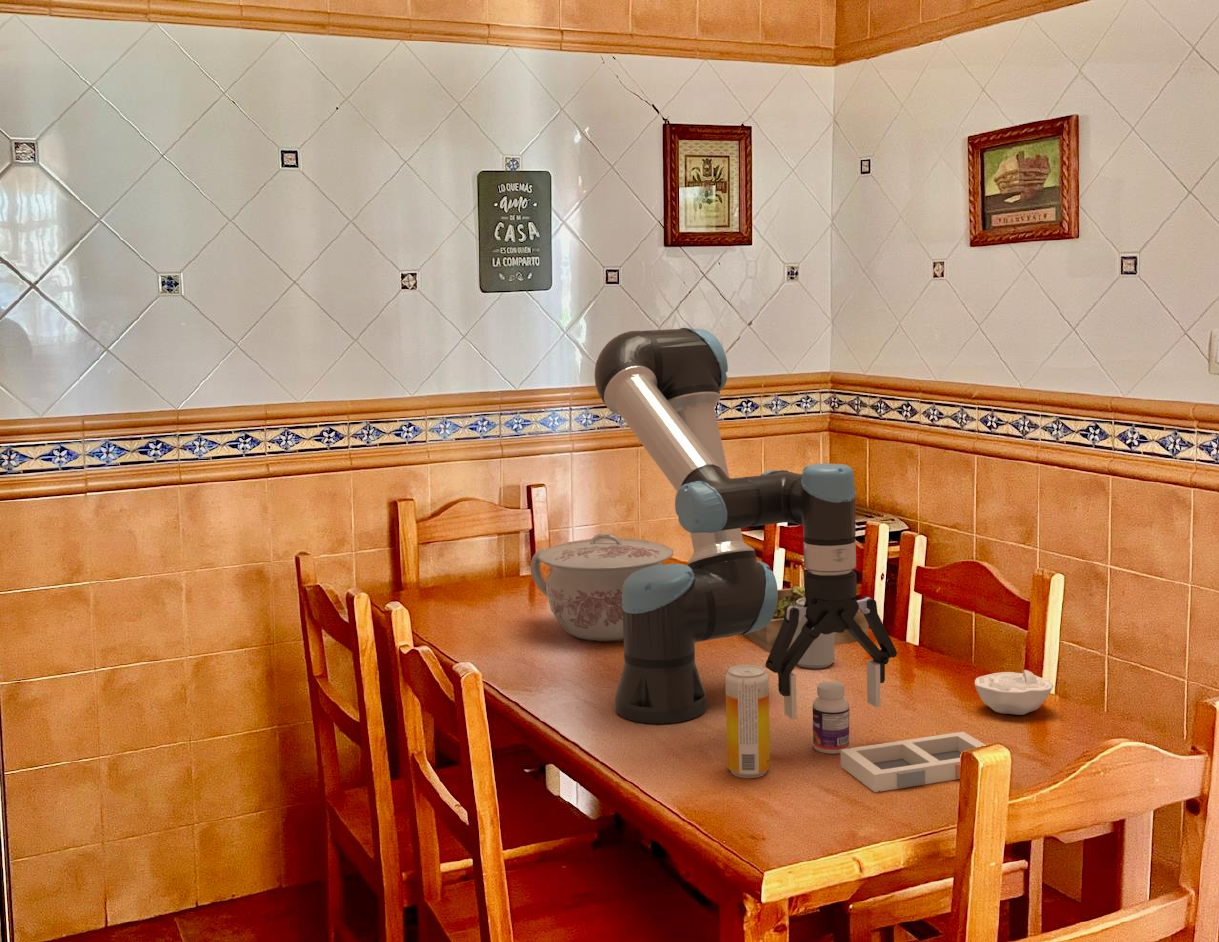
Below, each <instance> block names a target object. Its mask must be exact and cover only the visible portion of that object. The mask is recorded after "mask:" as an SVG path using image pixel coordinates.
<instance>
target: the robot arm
mask: <svg viewBox="0 0 1219 942" xmlns="http://www.w3.org/2000/svg"><path fill="white" fill-rule="evenodd" d="M597 357H598V358H597V360H596V362H595V368H594V385H595V388H596V390H597V393H598V396H599V398H600V399H601V401H602V403H604V405H605V406H606V408H607V409H608V410H609V411H610V412H611V413H613V414H615V415H618V416H620V417H621V418H622V419H623V420H624V422H625V423H626V425H627V426H628V427H629V429H630V431H632V433H633V434H634V436H635V437H636V438H637V440H638V441H639V442H640V443H641V445H642V446H643V447H644V449H645V450H646V452H647V453H648V454H649V456H650V457H651V459H652V460H653V461H654V462H655V463H656V465H657V467H658V468H659V469H660V470H661V472H662V474H663V475H664V476H665V477H666V479H667V480H668V481H669V483H670V484H671V486H673V488H674V489H675V491H676V494H675V499H674V500H675V501H674V510H675V513H676V515H677V516H678V523H679V525H680V526H681V527H682V529H684V530H685V531H686V532H688V533H689V534H690V540H691V543H692V544H691V545H692V549H693V553H692V555H691V557H690V558H689V559H688V562H687V565H686V564H681V563H668V564H663V563H661V565H655V566H650V567H646V568H643V569H640V570H638V571H636V572H634V573H632V574H631V575H629V576H628V578H627V579H626V580H625V581H624V584H623V593H622V603H621V606H622V609H623V636H624V640H623V657H624V662H623V663H624V664H623V668H622V672H621V675H620V677H619V678H620V679H619V681H618V684H617V689H616V692H615V697H614V704H615V705H614V707H615V708H614V709H615V712H616V714H617V715H618V716H620V717H622V718H624V719H627V720H629V721H633V722H637V723H643V724H644V723H645V724H675V723H680V722H686V721H690V720H692V719H696V718H699V716H701V715H703V714H704V713H705V712H706V711H707V710H708V709H707V706H708V705H707V701H708V700H707V693H706V690H705V687H704V684H703V682H702V678H701V676H700V674H699V670H698V667H697V664H696V653H695V648H696V647H695V644H696V643H699V642H705V641H710V640H716V639H722V638H728V637H735V636H744V635H745V634H748V633H750V632H754V631H758V630H761V629H763V628H765V627H766V626H767V625H768V624H769V623H770V621H771V620H772V618H773V615H774V612H775V610H776V606H777V599H778V590H779V589H778V584H777V583H778V582H777V578H776V576H775V574H774V572H773V570H771V568H770V566H769V565H768V564H767V563H765V562H763V561H761V560H758V559H757V555H756V551H755V549H754V548H753V547H751V546H750V545H748V544H747V543H746V542H745V541H744V537H743V533H742V529H743V528H750V527H751V528H752V527H759V526H760V527H761V526H767V525H774V524H775V525H776V524H782V523H783V524H784V523H791V524H795V525H796V524H797V525H800V526H802V527H803V528H802V529H803V531H802V532H803V537H802V538H803V567H804V569H806V571H805V572H804V574H803V575H804V576H803V577H804V578H803V582H804V587H805V599H806V601H805V605H804V607H793V606H791V605H787V606H786V607H785V612H784V621H783V623H782V626H781V628H780V630H779V633H778V635H777V637H776V640H775V642H774V645H773V647H772V649H771V652H769V654H768V657H767V659H766V662H765V664H764V665H765V669H768V670H769V671H771V672H772V673H774V674H776V673H777V676H778V677H777V679H778V680H777V682H778V683H777V684H778V692H779V694H780V695H781V696H782V697H783V702H784V703H783V706H784V708H783V709H784V715H785V716H787V717H788V718H790V719H791V720H796V719H798V710H797V708H798V705H797V704H798V703H797V674H795V673H793V671H794V669H795V667H796V666H797V665H798V664H797V663H798V662H799V661H800V659H801V658H802V656H803V655H804V654H805V652H806V651H807V649H808V648H809V646H810V645H811V644H812V642H813V641H814V640H815V639H817V638H818V637H819V635H820V634H821V633H823V634H831V633H833V632H837V633H842V632H844V631H845V630H848V631H849V633H850V634H851V635H852V636H853V637H854V638H855V639H856V640H857V641H856V642H857V643H858V644H859V645H860V646H861V647H862V648H863V649H864V651H865V652H866V653H867V654H868V655H869V656H870V658H871V659H868V660H866V696H867V697H866V698H867V699H866V700H867V701H866V702H867V703H868V704H869V705H871V706H873V707H874V708H881V704H882V703H881V684H884V683H885V680H886V665H887V664H889V662H890V658H896V657H897V655H898V651H897V649H896V648H895V645H894V643H893V641H892V639H891V637H890V636H889V633H888V632H887V629H886V627H885V625H884V624H883V621H882V620H881V617H880V615H879V613H878V604H877V601H876V600H875V599H873V598H871V597H869V596H866V595H864V596H863V597H861V599H858V600H857V591H858V590H857V573H856V572H855V570H854V569H855V568H856V567H857V557H856V556H857V554H856V553H857V552H856V551H857V550H856V548H857V547H856V546H857V545H856V544H857V543H856V497H857V492H856V487H855V476H854V470H853V469H852V467H851V466H849V465H847V464H843V463H831V462H830V463H826V462H825V463H816V464H815V463H814V464H809V465H806V466H805V467H804V468H803V469H802V472H801V473H802V474H801V473H798V472H797V473H796V472H793V471H789V470H785V469H780V470H774V469H773V470H768V471H765V472H763V473H761V474H759V475H753V476H741V477H733V478H731V477H730V475H729V474H730V473H729V469H728V464H727V460H726V455H725V452H724V451H725V450H724V447H723V442H722V438H721V434H720V433H721V432H720V429H719V425H718V424H719V423H718V418H717V415H716V414H717V413H716V410H715V408H716V406H717V404H718V403H719V401H720V400H721V397H722V396H721V393H720V391H722V390H723V388H725V386H726V383H727V380H728V374H727V372H728V371H729V365H728V360H727V355H726V352H725V350H724V347H723V344H722V343H721V342H720V340H719V339H718V338H717V337H716V336H715V335H714V334H713V333H711V332H710V331H708V330H706V329H704V328H690V327H681V328H673V329H672V328H671V329H670V328H669V329H654V330H652V329H651V330H631V331H626V332H623V333H620V334H619V335H616V336H615V337H613V338H612V339H610V341H608V342H607V343H606V344H605V346H604V347H603V348H602V350H601V351H600V353H599V354H598V356H597ZM859 609H860V611H861V612H862V613H863V614H864V616H865V618H866V620H867V622H868V624H869V628H870V630H871V632H872V634H873V636H874V638H875V640H876V643H877V644H878V646H879V647H878V646H877V644H875V642H874V641H872V639H871V638H870V637H868V636H867V635H866V634H865V633H864V631H863V630H862V629H861V627H860V626H859V625H858V624H857V622H856V621H855V620H854V619H853V618H854V617H855V615H856V613H857V612H858V610H859ZM803 616H805V617H806V618H807V621H806V623H805V624H804V625H803V627H802V629H801V632H800V634H799V635H798V637H797V638H796V640H795V641H794V642H793V644H792V645H791V647H790V648H789V646H790V644H791V641H792V639H793V636H794V634H795V632H796V629H797V626H798V622H800V621H801V620H802V617H803ZM812 628H813V629H812ZM788 648H789V650H788Z"/></svg>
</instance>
